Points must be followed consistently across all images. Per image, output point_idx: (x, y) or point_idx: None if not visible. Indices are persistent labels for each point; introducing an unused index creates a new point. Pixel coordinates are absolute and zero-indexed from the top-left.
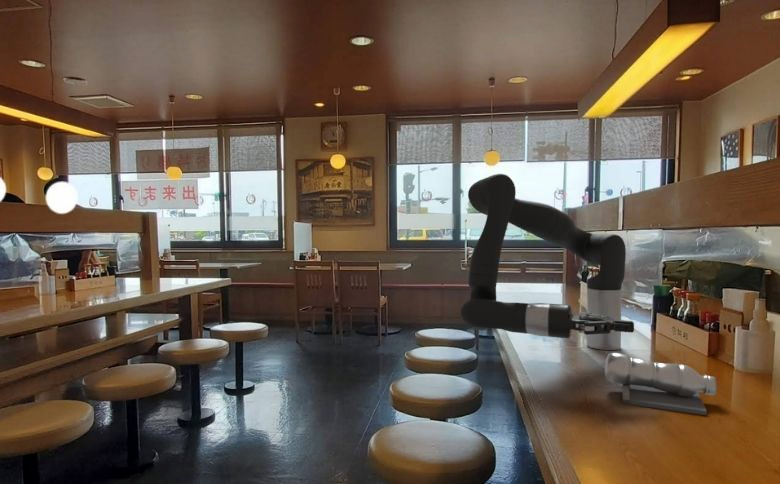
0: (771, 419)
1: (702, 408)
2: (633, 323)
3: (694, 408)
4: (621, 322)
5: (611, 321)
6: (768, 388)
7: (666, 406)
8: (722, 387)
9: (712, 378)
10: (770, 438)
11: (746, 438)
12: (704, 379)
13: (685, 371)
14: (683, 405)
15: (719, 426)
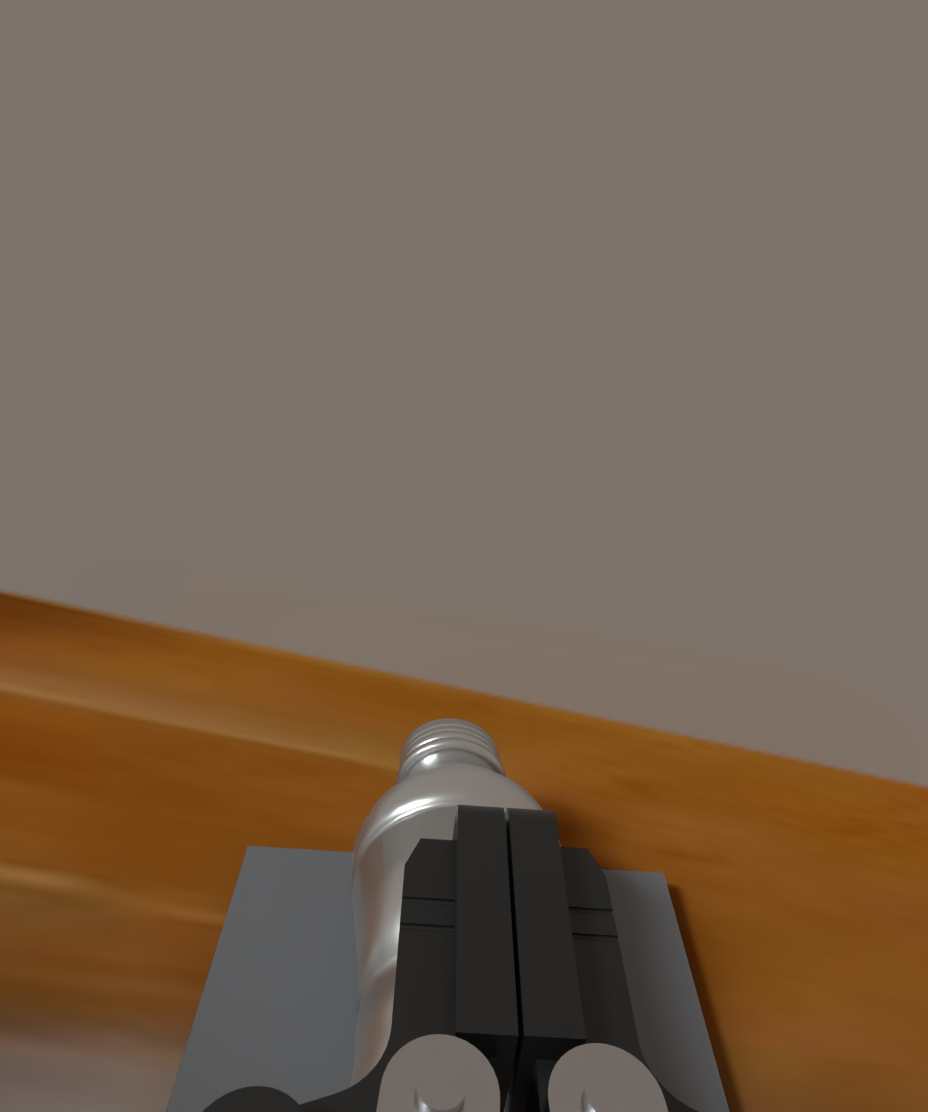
0: (549, 710)
1: (631, 882)
2: (554, 813)
3: (658, 915)
4: (564, 946)
5: (658, 1102)
6: (151, 632)
7: (712, 1053)
8: (164, 750)
9: (471, 731)
10: (763, 757)
11: (832, 817)
12: (484, 764)
13: (531, 804)
14: (644, 957)
15: (771, 870)
